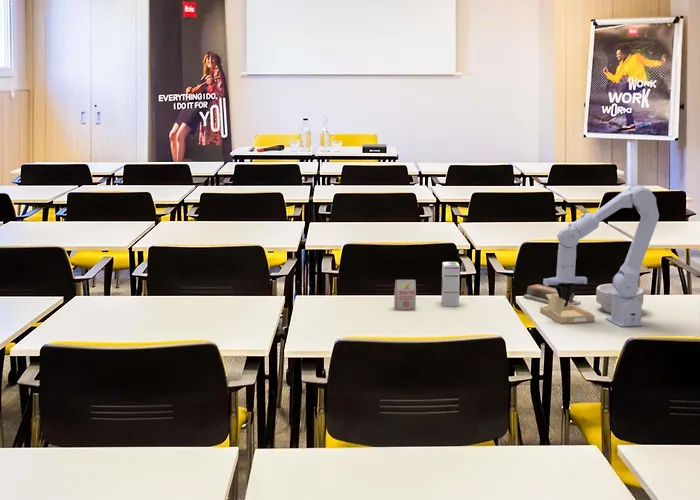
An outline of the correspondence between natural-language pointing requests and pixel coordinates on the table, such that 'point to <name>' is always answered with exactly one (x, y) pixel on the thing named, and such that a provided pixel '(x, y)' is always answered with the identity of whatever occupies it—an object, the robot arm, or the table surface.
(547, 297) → the far flap
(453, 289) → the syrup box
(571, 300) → the packaged product
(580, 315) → the carton
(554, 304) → the left flap
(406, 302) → the white food box
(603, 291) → the paper bowls
